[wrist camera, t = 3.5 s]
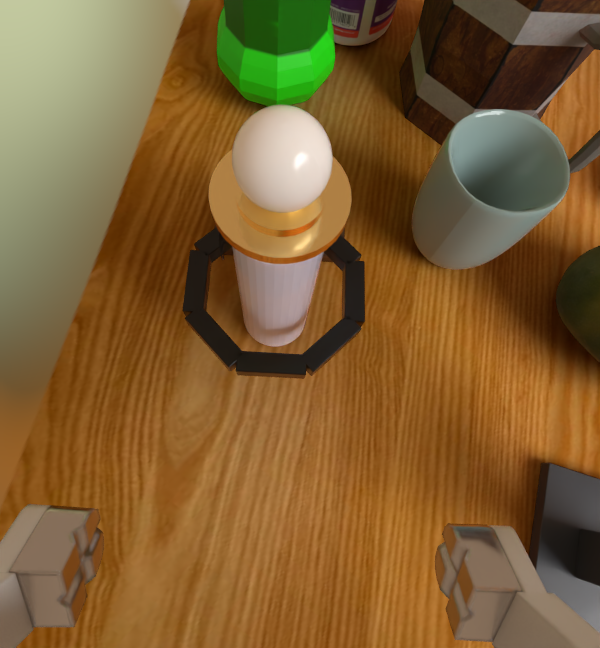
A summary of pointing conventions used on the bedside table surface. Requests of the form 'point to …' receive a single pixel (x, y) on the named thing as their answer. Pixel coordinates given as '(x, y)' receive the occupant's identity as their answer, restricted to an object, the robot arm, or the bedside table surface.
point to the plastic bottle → (276, 48)
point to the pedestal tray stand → (568, 539)
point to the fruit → (582, 300)
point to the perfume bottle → (279, 216)
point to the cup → (488, 188)
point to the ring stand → (262, 361)
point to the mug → (496, 60)
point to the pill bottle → (360, 20)
